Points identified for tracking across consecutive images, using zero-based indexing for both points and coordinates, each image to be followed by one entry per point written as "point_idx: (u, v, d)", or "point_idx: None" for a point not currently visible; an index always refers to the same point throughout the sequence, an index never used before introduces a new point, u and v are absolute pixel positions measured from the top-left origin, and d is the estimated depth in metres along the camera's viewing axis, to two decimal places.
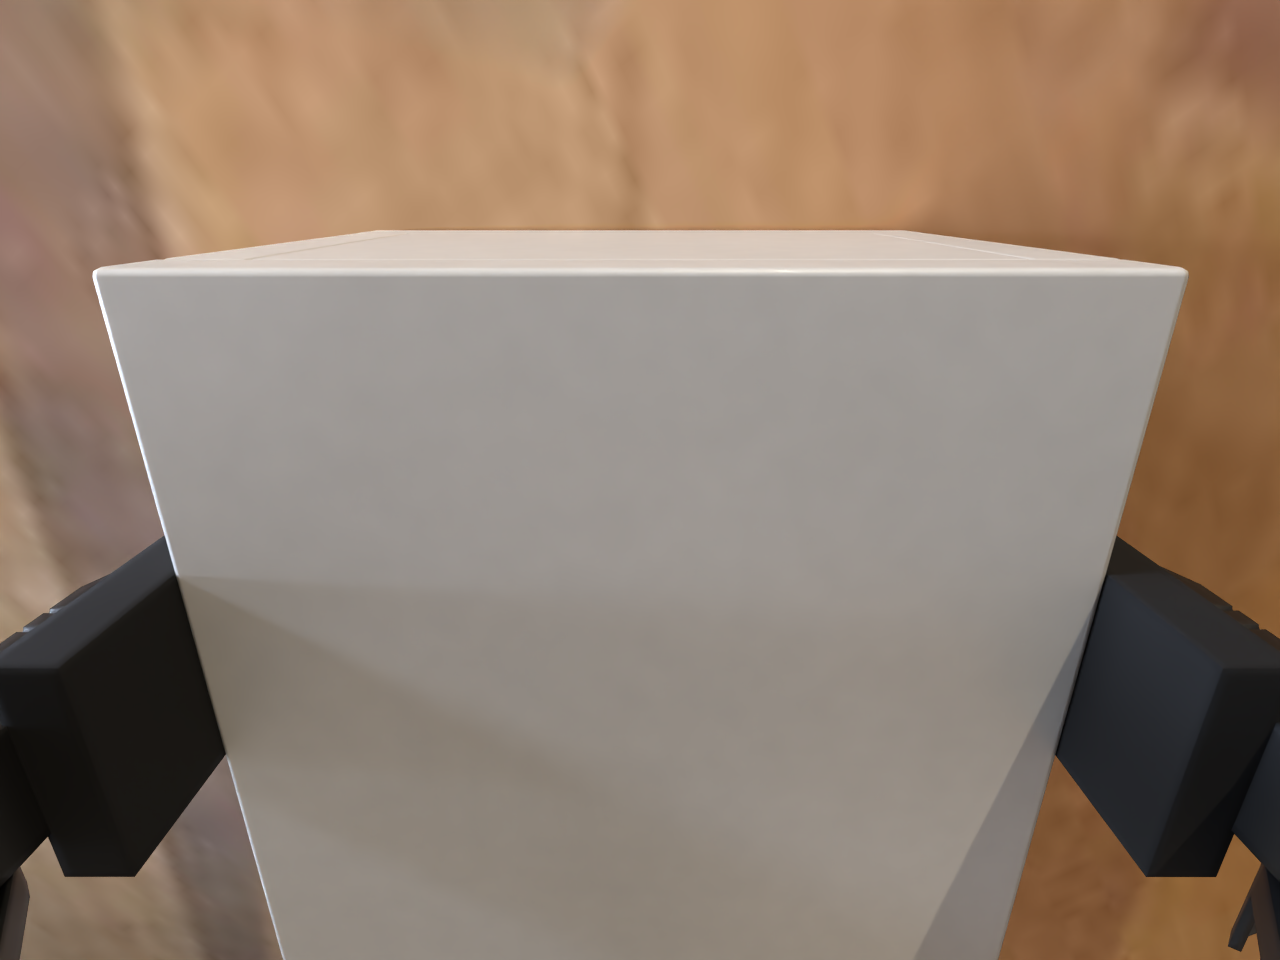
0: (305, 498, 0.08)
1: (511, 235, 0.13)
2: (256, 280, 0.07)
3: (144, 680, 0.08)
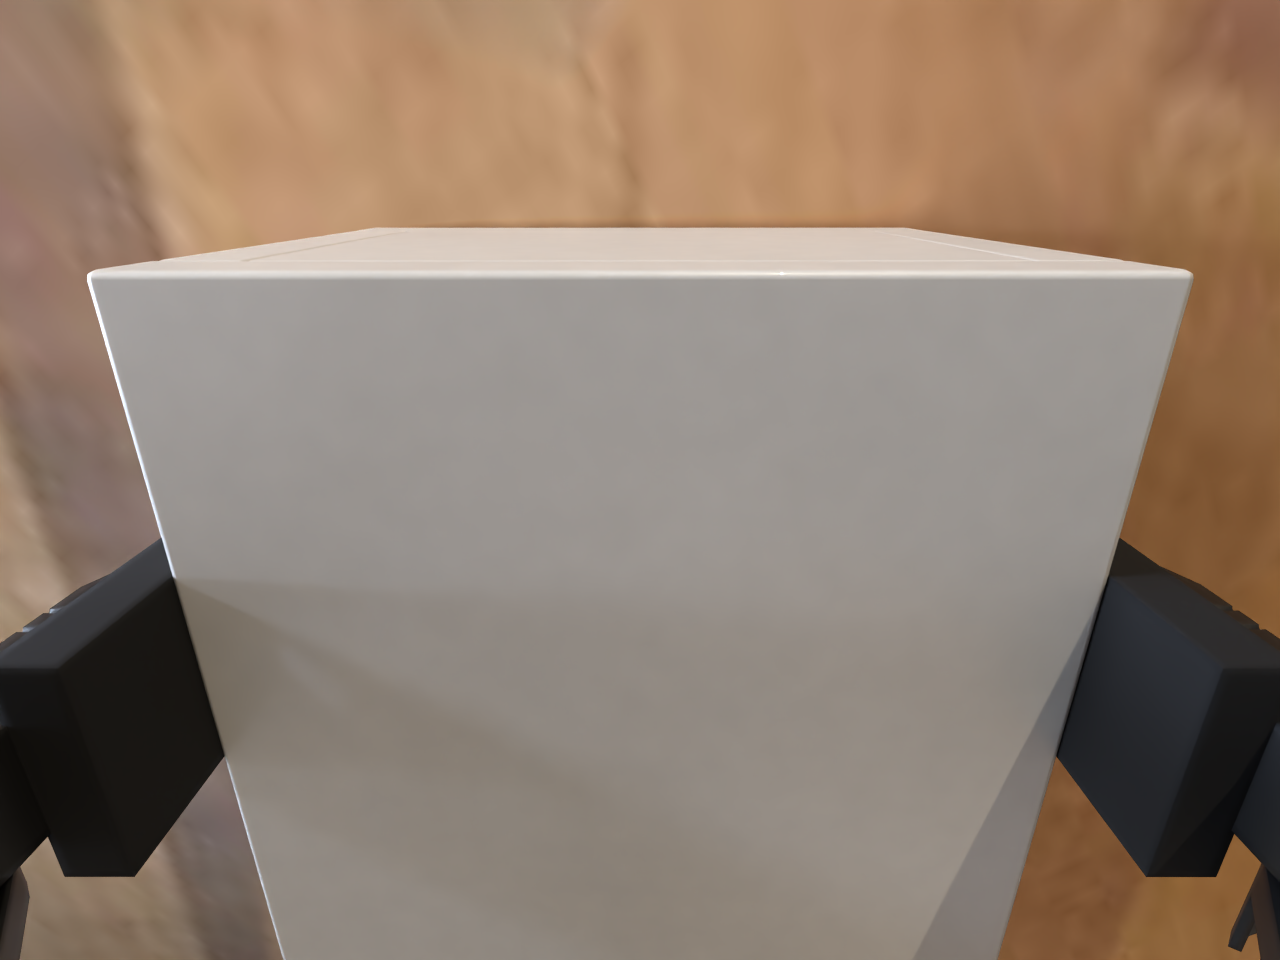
0: (303, 502, 0.08)
1: (510, 233, 0.13)
2: (252, 283, 0.07)
3: (143, 680, 0.08)
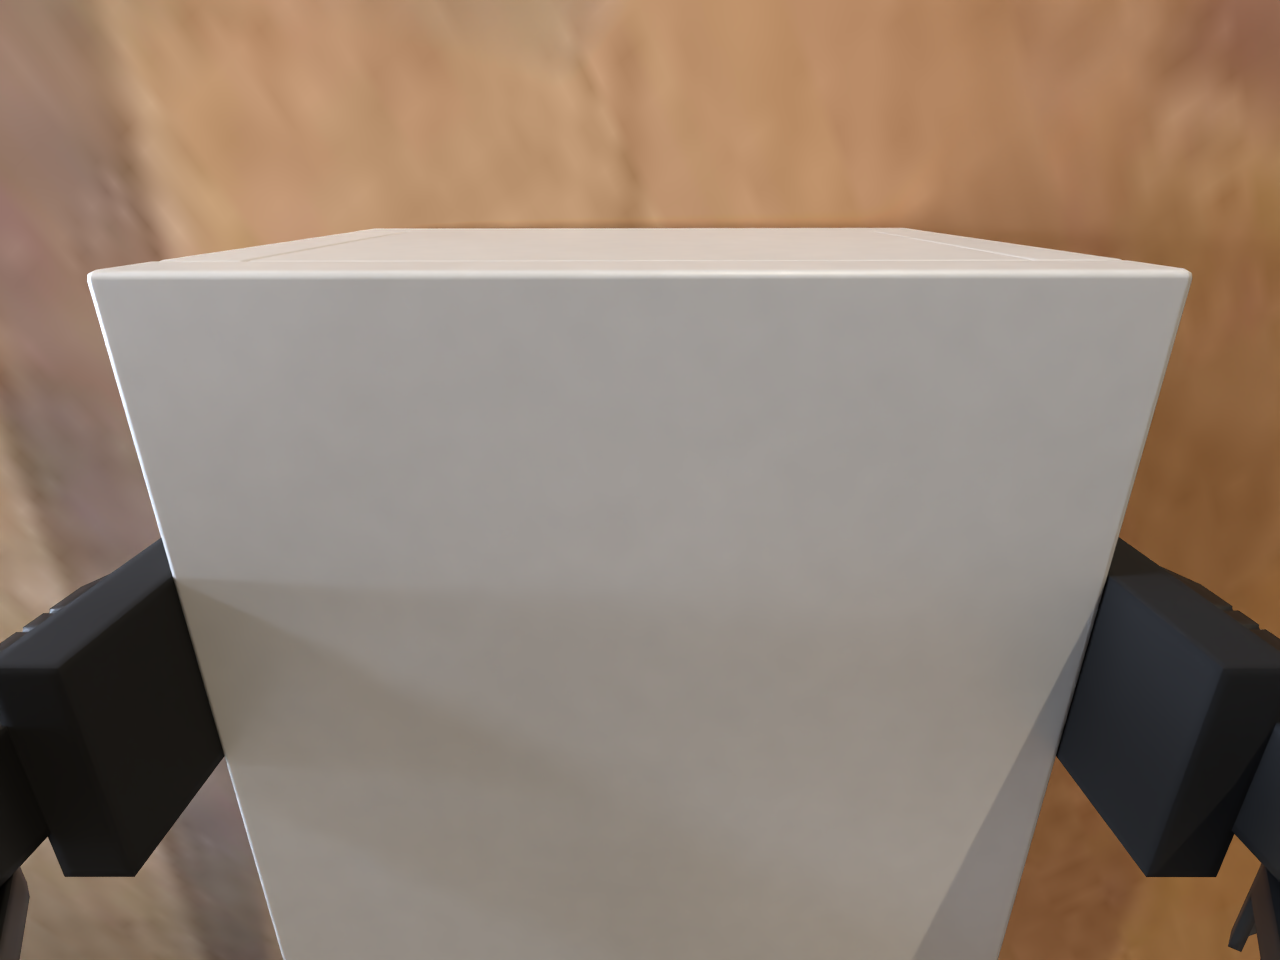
0: (303, 502, 0.08)
1: (509, 234, 0.13)
2: (252, 283, 0.07)
3: (143, 681, 0.08)
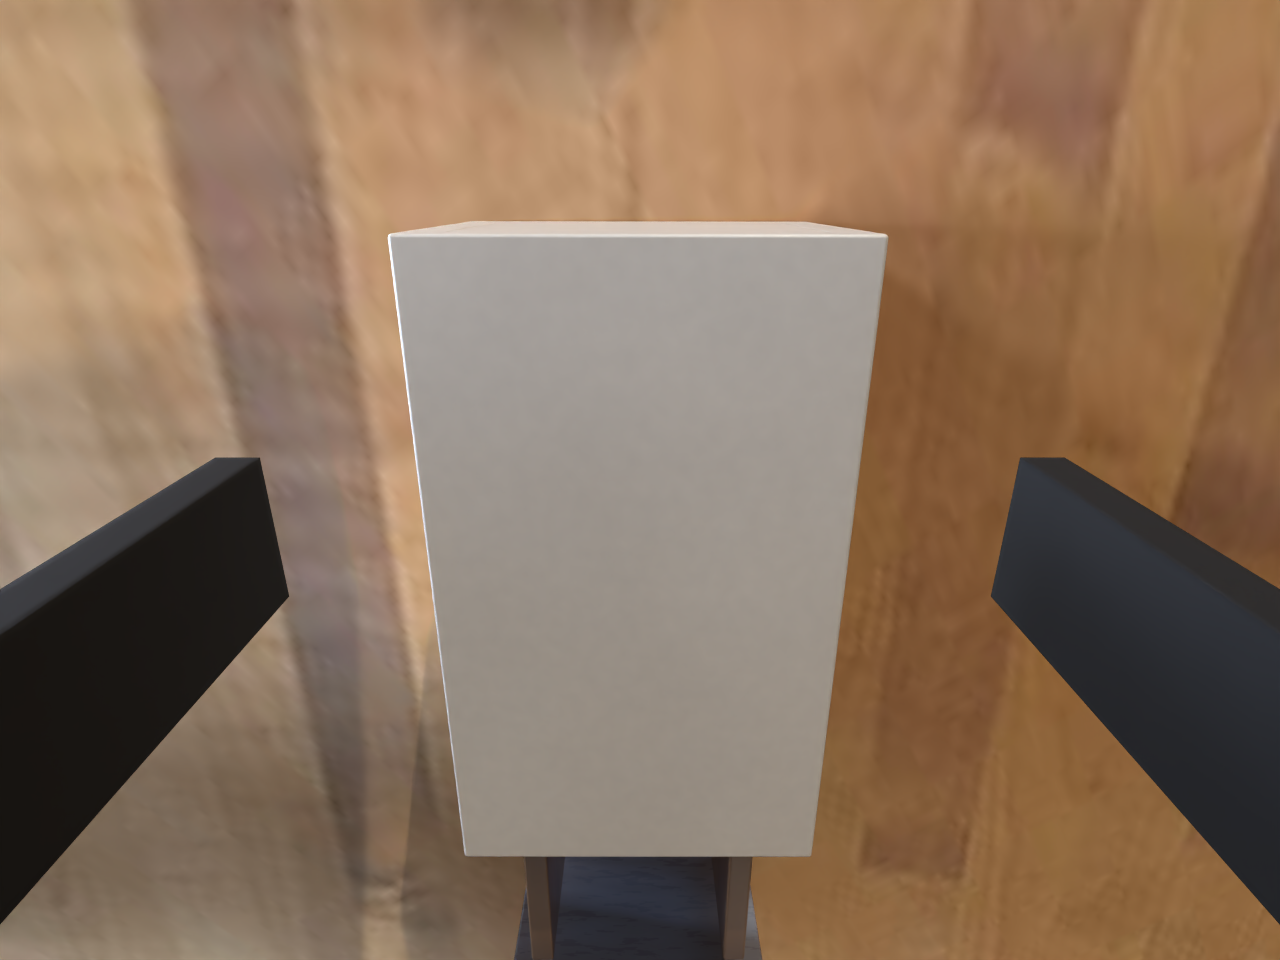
0: (475, 347, 0.16)
1: (561, 223, 0.21)
2: (463, 239, 0.15)
3: None
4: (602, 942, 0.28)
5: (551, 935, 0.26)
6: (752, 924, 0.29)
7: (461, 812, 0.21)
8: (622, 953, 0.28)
